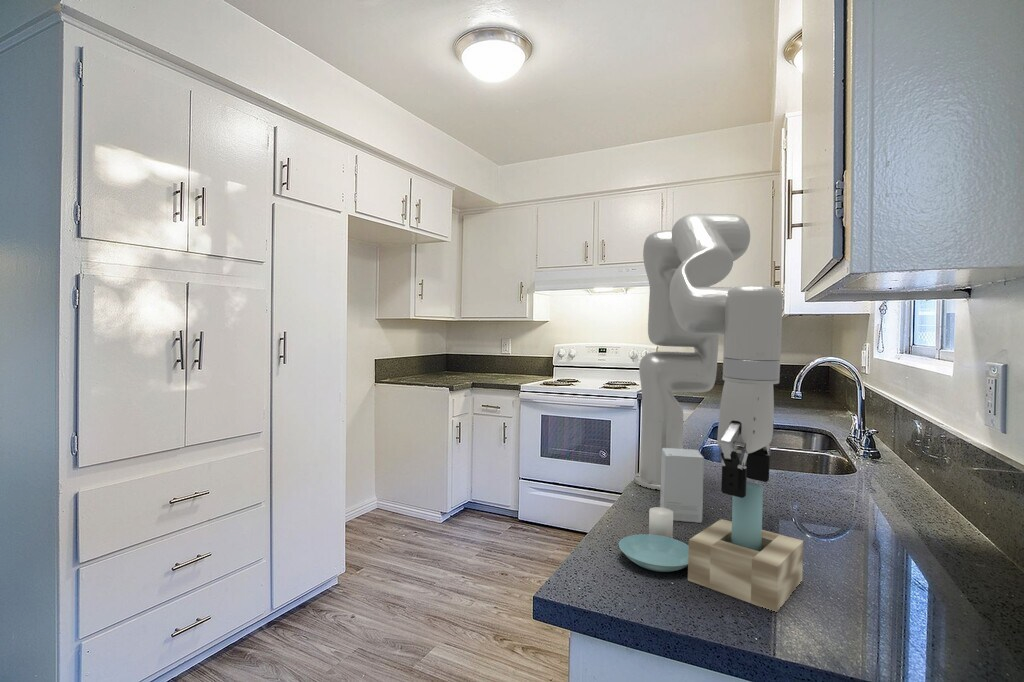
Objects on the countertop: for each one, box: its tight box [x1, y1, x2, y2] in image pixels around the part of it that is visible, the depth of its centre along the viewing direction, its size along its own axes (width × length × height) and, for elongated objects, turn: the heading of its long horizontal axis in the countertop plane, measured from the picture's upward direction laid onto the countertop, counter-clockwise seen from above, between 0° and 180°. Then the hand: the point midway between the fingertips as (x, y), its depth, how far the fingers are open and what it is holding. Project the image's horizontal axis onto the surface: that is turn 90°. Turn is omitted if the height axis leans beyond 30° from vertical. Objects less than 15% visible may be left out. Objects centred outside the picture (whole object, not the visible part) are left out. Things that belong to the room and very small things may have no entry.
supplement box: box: [659, 448, 705, 524], centre depth 102 cm, size 7×7×13 cm
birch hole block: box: [687, 518, 804, 613], centre depth 75 cm, size 12×12×6 cm
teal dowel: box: [731, 481, 764, 552], centre depth 75 cm, size 4×4×14 cm
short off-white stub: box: [648, 506, 674, 539], centre depth 90 cm, size 4×4×5 cm
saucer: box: [618, 533, 689, 573], centre depth 81 cm, size 12×12×2 cm
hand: (745, 487), depth 76 cm, fingers open, 9 cm apart
